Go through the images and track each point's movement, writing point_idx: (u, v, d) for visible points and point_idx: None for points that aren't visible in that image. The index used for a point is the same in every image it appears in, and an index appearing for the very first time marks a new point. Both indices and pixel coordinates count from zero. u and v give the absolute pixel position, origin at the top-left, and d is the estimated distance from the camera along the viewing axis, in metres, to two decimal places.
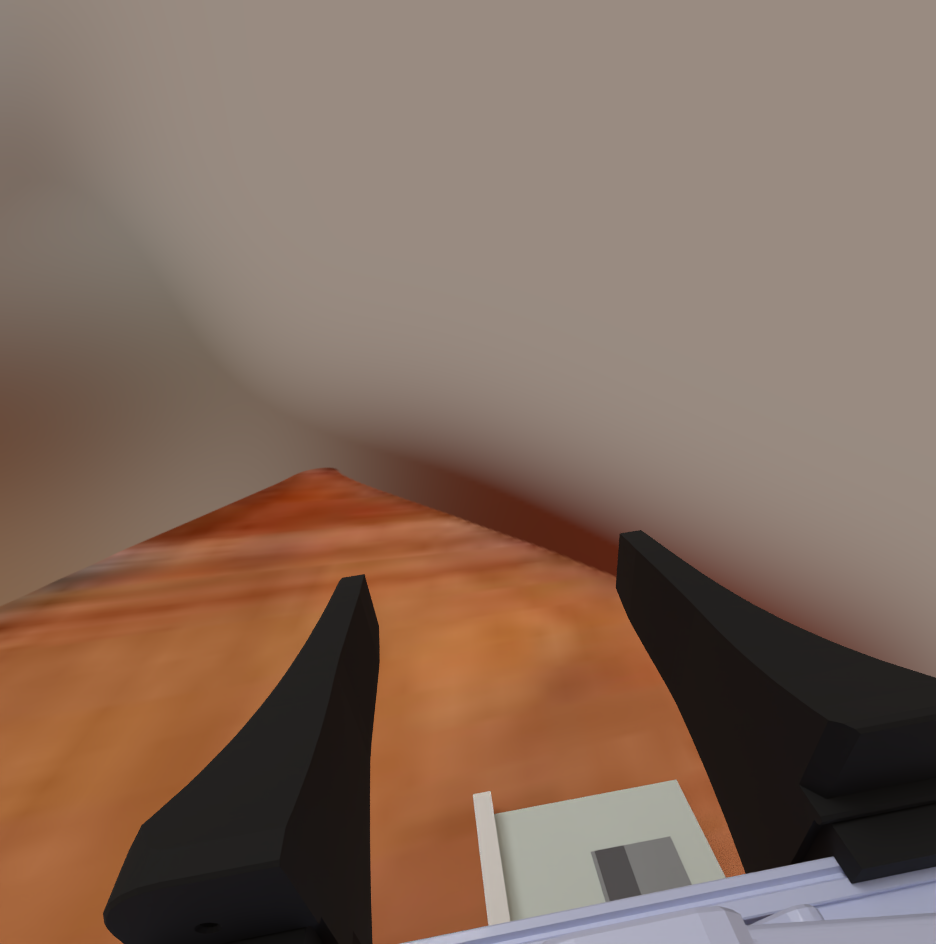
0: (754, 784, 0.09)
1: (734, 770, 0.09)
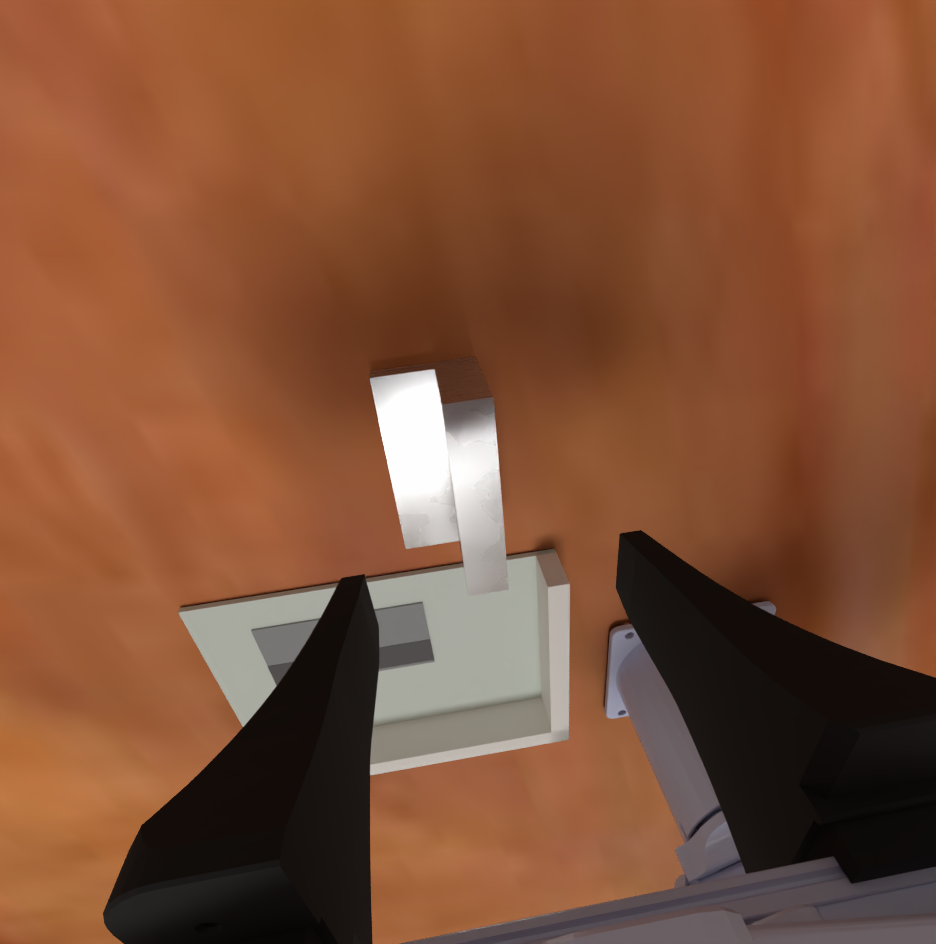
0: (754, 784, 0.09)
1: (734, 770, 0.09)
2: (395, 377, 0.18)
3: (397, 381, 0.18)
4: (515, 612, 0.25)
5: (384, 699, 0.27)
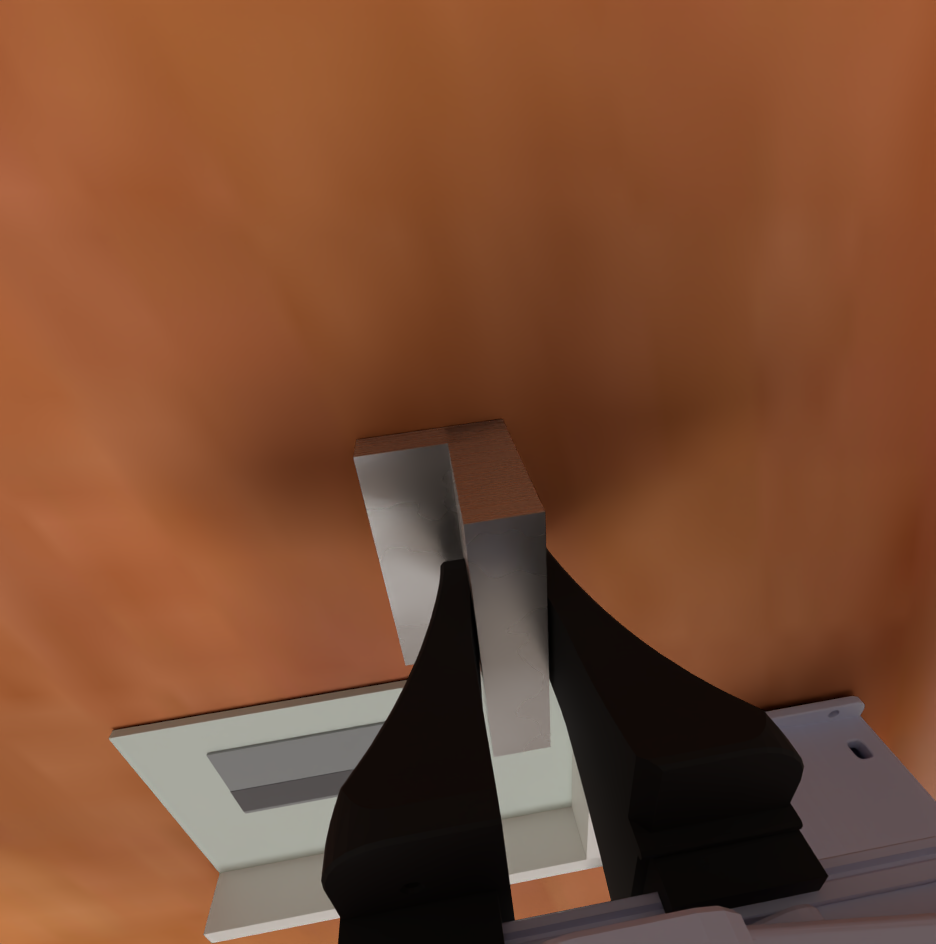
0: (608, 813, 0.09)
1: (597, 796, 0.09)
2: (391, 455, 0.12)
3: (393, 460, 0.12)
4: None
5: None
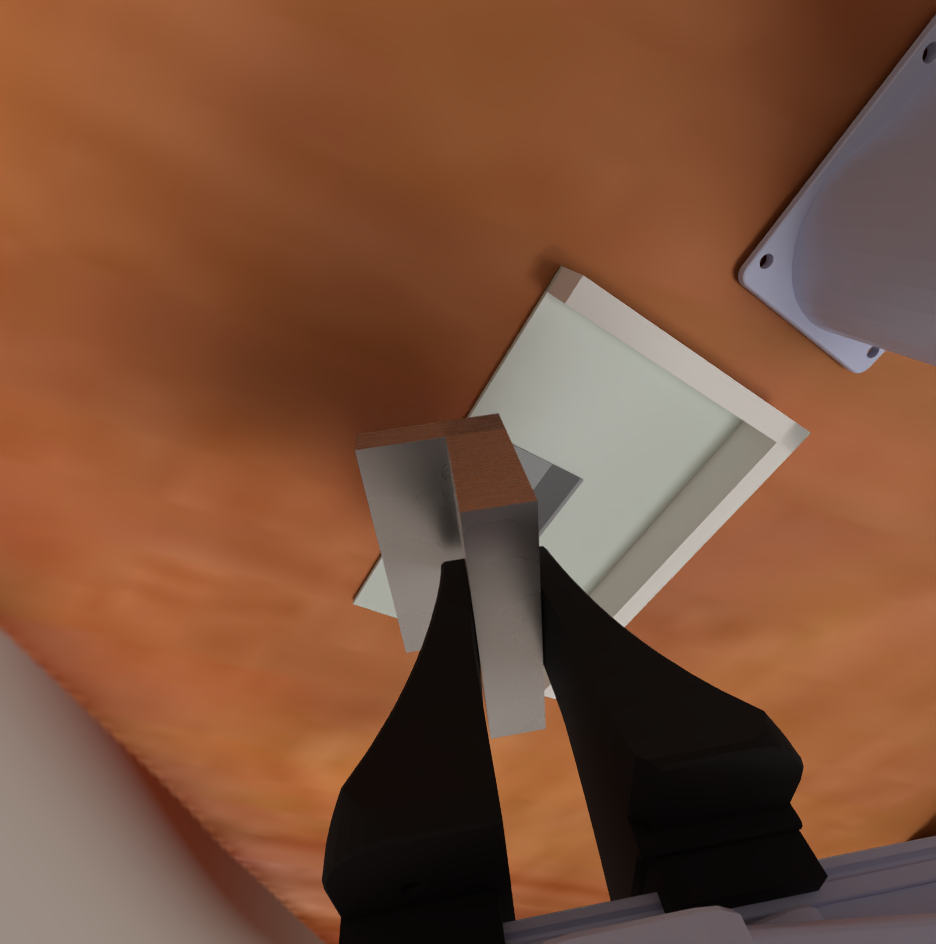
0: (607, 812, 0.09)
1: (597, 796, 0.09)
2: (391, 448, 0.13)
3: (394, 453, 0.13)
4: (601, 365, 0.19)
5: (583, 548, 0.24)
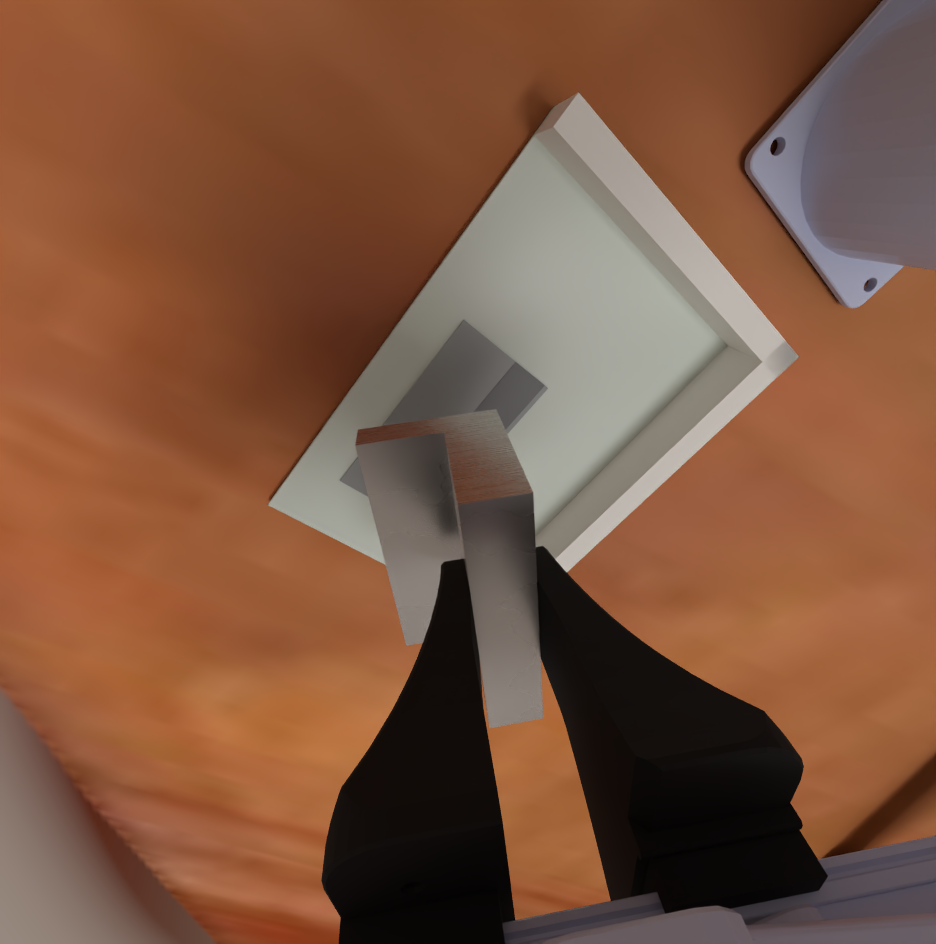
0: (607, 813, 0.09)
1: (597, 796, 0.09)
2: (391, 444, 0.13)
3: (393, 448, 0.13)
4: (584, 246, 0.17)
5: (538, 474, 0.22)
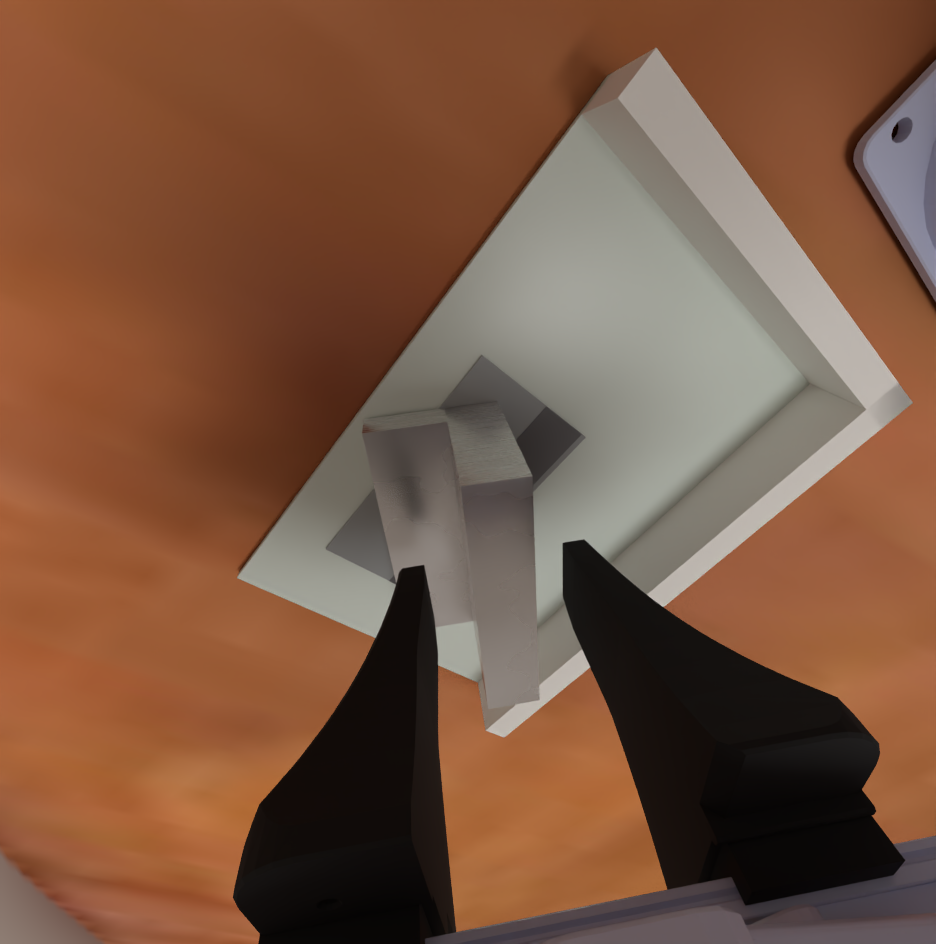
0: (669, 801, 0.09)
1: (654, 785, 0.09)
2: (396, 432, 0.14)
3: (398, 437, 0.14)
4: (639, 261, 0.13)
5: (569, 537, 0.18)
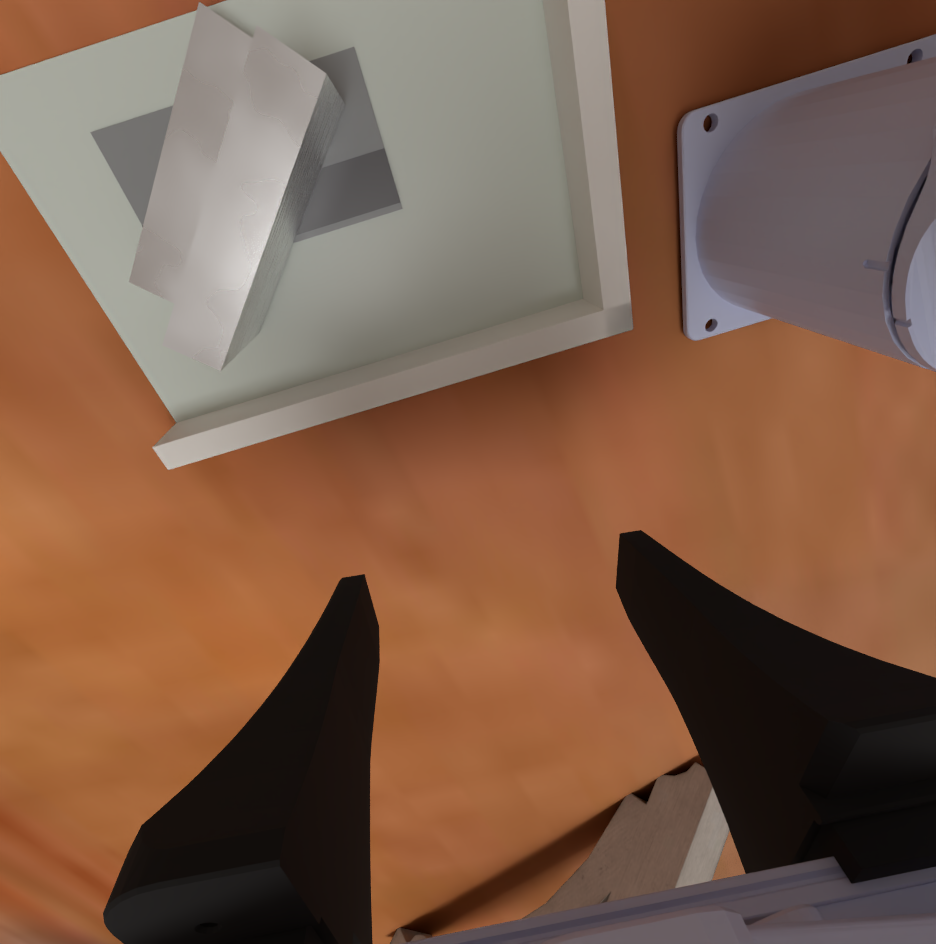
0: (754, 784, 0.09)
1: (734, 770, 0.09)
2: (234, 31, 0.13)
3: (234, 38, 0.13)
4: (514, 74, 0.15)
5: (343, 308, 0.18)
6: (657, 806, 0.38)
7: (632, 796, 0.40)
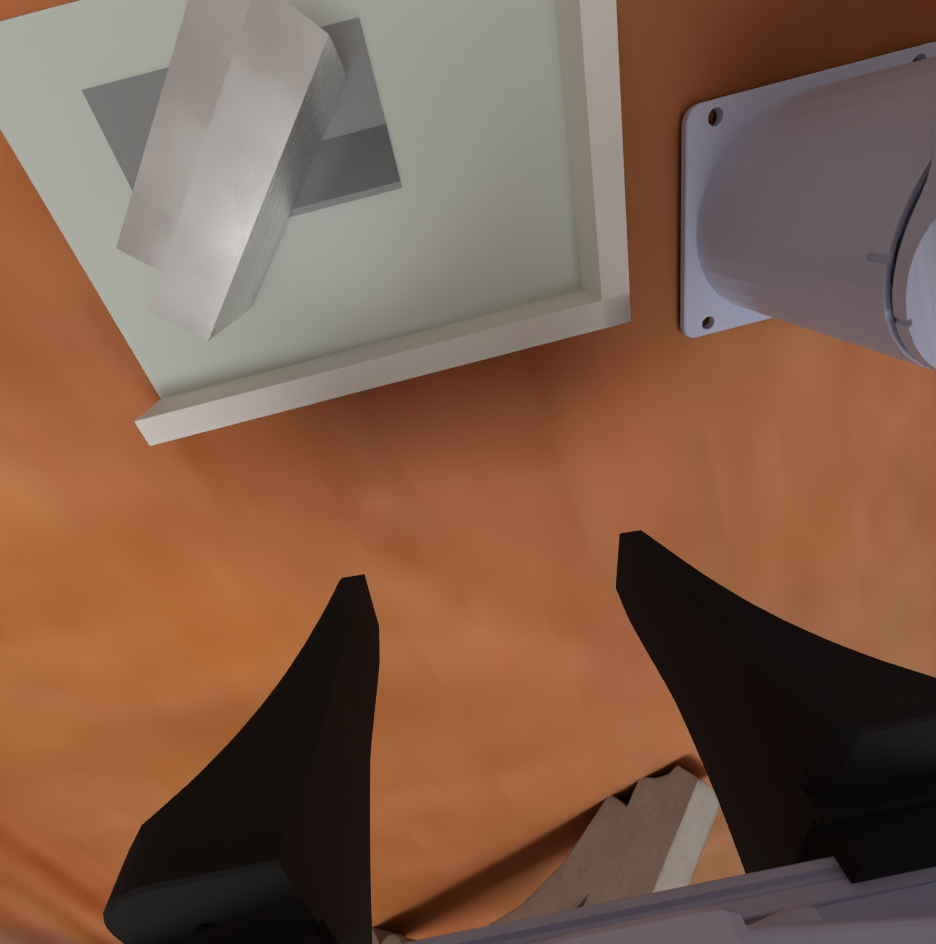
0: (754, 784, 0.09)
1: (734, 770, 0.09)
2: None
3: None
4: (521, 56, 0.15)
5: (337, 288, 0.18)
6: (638, 808, 0.38)
7: (613, 798, 0.39)
